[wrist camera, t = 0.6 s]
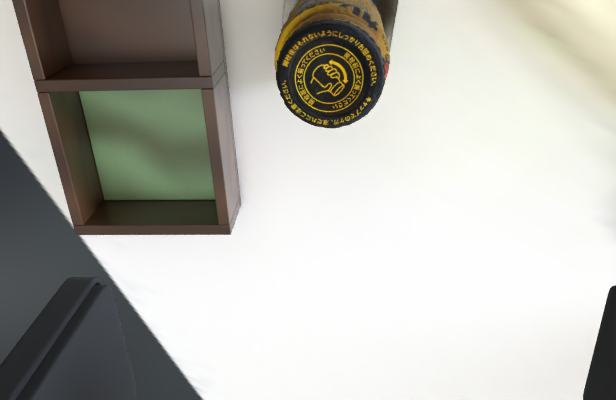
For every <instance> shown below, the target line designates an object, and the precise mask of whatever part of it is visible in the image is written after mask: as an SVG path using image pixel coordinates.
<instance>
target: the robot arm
mask: <svg viewBox="0 0 616 400" xmlns="http://www.w3.org/2000/svg"><path fill="white" fill-rule="evenodd" d="M136 395H137V389H136V383H135V379H134V375H133V371H132V367H131V363H130V359H129V354H128V350H127V346H126V342H125V338H124V334H123V330H122V326H121V322H120V318H119V314H118V310H117V305H116V301H115V297H114V293H113V290H112V288H111V286H110V285H104V283H103V281H102V280H101V279H100V278H98V277H72V278H68V279H67V280H66V281H65V282H64V283H63V284H62V286H61V287H60V288H59V290H58V291H57V292H56V294H55V295H54V296H53V298H52V299H51V300H50V301H49V303H48V304H47V305H46V306H45V308H44V309H43V310H42V312H41V313H40V314H39V316H38V317H37V318H36V320H35V321H34V322H33V324H32V325H31V326H30V327H29V329H28V330H27V331H26V333H25V334H24V335H23V336H22V338H21V339H20V340H19V342H18V343H17V344H16V346H15V347H14V348H13V350H12V351H11V352H10V353H9V355H8V356H7V357H6V359H5V360H4V361H3V362H2V364H1V365H0V400H136ZM583 400H616V286H612V287H611V288H610V290H609V293H608V297H607V301H606V305H605V309H604V313H603V317H602V321H601V325H600V329H599V333H598V337H597V341H596V345H595V349H594V353H593V357H592V361H591V365H590V369H589V373H588V377H587V381H586V385H585V389H584V394H583Z"/></svg>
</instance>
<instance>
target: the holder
mask: <svg viewBox="0 0 616 400" xmlns="http://www.w3.org/2000/svg"><path fill="white" fill-rule="evenodd" d="M12 1H13V5H14V9H15V12H16V16H17V20H18V24H19V27H20V31H21V35H22V38H23V42H24V46H25V49H26V53H27V57H28V60H29V64H30V68H31V71H32V75H33V79H34V80H35V81H34V82H35V86H36V90H37V92H38V97H39V101H40V105H41V108H42V112H43V116H44V119H45V123H46V127H47V130H48V134H49V138H50V141H51V145H52V149H53V152H54V156H55V160H56V164H57V167H58V171H59V175H60V178H61V182H62V186H63V189H64V193H65V197H66V200H67V204H68V208H69V211H70V215H71V219H72V222H73V225H74V230H75V234H76V235H230V234H231V232H232V229H233V226H234V223H235V220H236V217H237V215H238V212H239V209H240V206H241V199H240V190H239V181H238V171H237V162H236V153H235V143H234V134H233V125H232V115H231V106H230V97H229V87H228V78H227V69H226V59H225V50H224V41H223V32H222V22H221V13H220V4H219V0H12Z"/></svg>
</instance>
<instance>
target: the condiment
mask: <svg viewBox="0 0 616 400" xmlns="http://www.w3.org/2000/svg"><path fill="white" fill-rule="evenodd" d="M397 5H398V0H284V10H283V24H282V29H281V34H280V36H279V39H278V42H277V45H276V48H275V69H276V80H277V85H278V88H279V90H280V95H281V96H282V98H283V100H284V103H285V105H286V106H287V108H288V109H289V110H290V111H291V112H292V113H293V114H294V115H296V116H297V117H299V118H300V119H301V120H303V121H305V122H307V123H309V124H311V125H314V126H318V127H324V128H339V127H342V126H346V125H350V124H352V123H354V122H356V121H358V120H359V119H361V118H362V117H364V116H365V115H367V114H368V113H369V111H370V110H371V109H372V108H373V107H374V106H375V104H376V103H377V101H378V99H379V97H380V95H381V93H382V90H383V86H384V84H385V80H386V77H387V74H388V69H389V63H390V54H389V53H390V46H391V40H392V34H393V28H394V23H395V17H396V11H397Z"/></svg>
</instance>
